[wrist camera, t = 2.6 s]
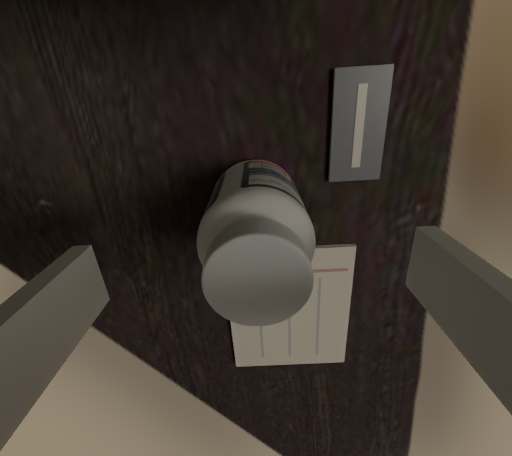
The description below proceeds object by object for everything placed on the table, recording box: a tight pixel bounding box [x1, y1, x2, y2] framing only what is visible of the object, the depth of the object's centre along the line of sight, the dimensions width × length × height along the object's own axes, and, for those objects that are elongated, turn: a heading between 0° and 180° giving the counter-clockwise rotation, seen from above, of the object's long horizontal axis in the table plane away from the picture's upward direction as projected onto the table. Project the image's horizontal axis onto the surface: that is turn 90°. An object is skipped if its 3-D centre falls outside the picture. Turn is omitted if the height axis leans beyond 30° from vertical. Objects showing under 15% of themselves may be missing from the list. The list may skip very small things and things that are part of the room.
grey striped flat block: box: [328, 64, 394, 182], centre depth 16 cm, size 6×3×1 cm, turn 3°
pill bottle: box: [197, 160, 315, 326], centre depth 14 cm, size 5×5×9 cm
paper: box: [230, 243, 356, 367], centre depth 21 cm, size 11×9×1 cm
